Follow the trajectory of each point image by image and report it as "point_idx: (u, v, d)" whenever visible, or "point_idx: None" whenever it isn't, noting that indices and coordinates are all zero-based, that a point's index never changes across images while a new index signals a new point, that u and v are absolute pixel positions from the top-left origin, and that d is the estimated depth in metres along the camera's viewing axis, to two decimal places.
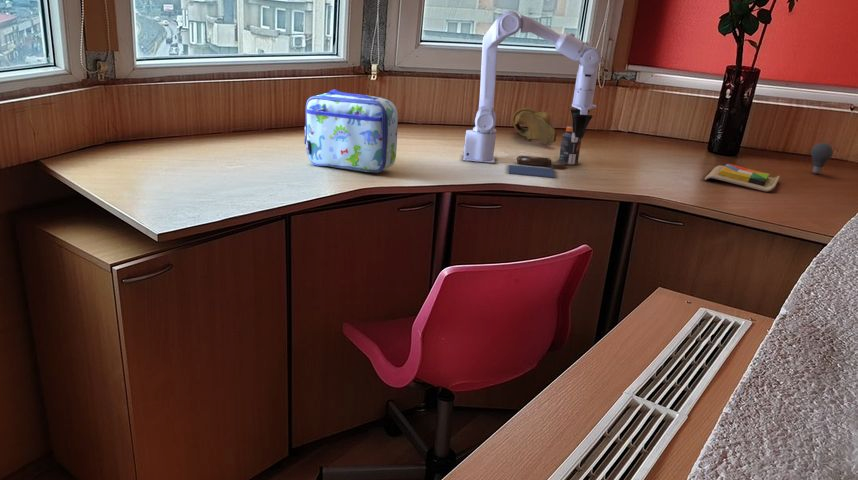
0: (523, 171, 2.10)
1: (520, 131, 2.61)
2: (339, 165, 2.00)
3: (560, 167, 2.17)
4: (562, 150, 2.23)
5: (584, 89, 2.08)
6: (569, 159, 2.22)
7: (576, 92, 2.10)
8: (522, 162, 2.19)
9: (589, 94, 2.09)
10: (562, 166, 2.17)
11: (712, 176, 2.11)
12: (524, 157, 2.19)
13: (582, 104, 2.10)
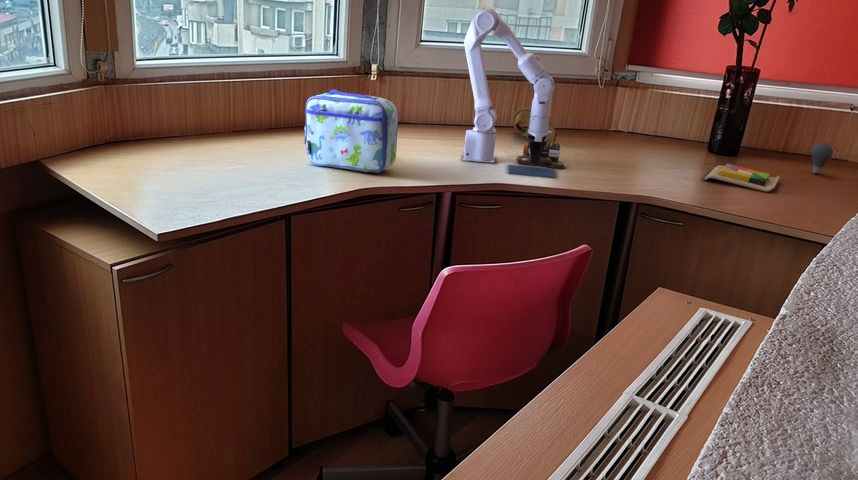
0: (523, 171, 2.10)
1: (520, 131, 2.61)
2: (339, 165, 2.00)
3: (560, 167, 2.17)
4: None
5: (538, 116, 2.12)
6: (554, 156, 2.22)
7: (531, 119, 2.14)
8: (522, 162, 2.19)
9: (544, 121, 2.12)
10: (562, 166, 2.17)
11: (712, 176, 2.11)
12: (524, 157, 2.19)
13: (537, 131, 2.13)
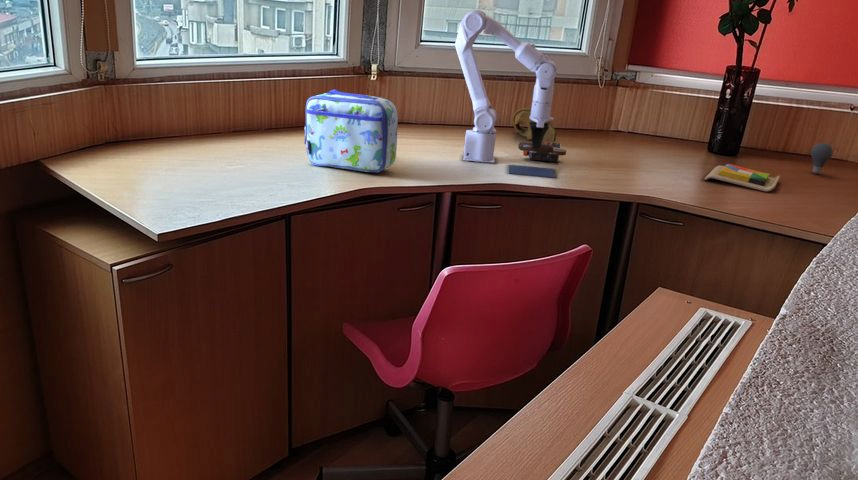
0: (523, 171, 2.10)
1: (520, 131, 2.61)
2: (339, 165, 2.00)
3: (562, 154, 2.16)
4: (545, 159, 2.25)
5: (540, 102, 2.10)
6: None
7: (533, 105, 2.12)
8: (524, 149, 2.18)
9: (546, 107, 2.11)
10: (564, 153, 2.16)
11: (712, 176, 2.11)
12: (526, 143, 2.17)
13: (539, 117, 2.12)
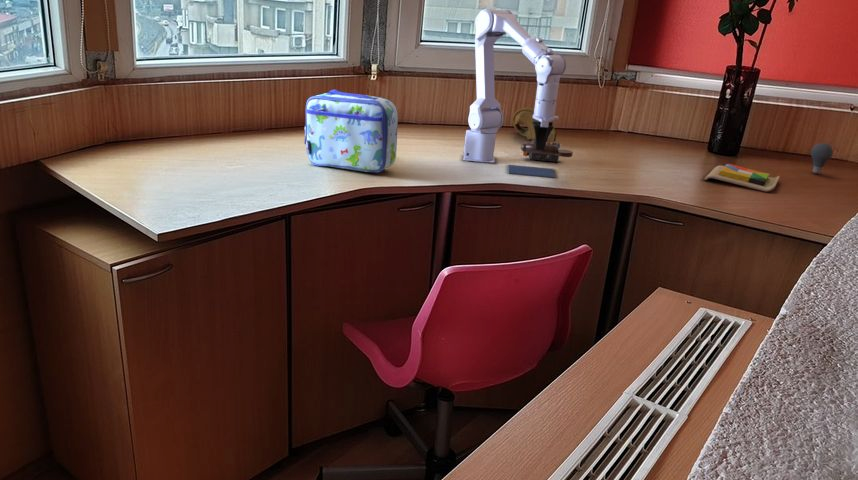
0: (523, 171, 2.10)
1: (520, 131, 2.61)
2: (339, 165, 2.00)
3: (568, 155, 2.00)
4: (545, 159, 2.25)
5: (538, 99, 1.96)
6: None
7: (537, 103, 1.97)
8: (527, 150, 2.02)
9: (550, 105, 1.96)
10: (570, 154, 2.01)
11: (712, 176, 2.11)
12: (529, 144, 2.02)
13: (543, 116, 1.97)
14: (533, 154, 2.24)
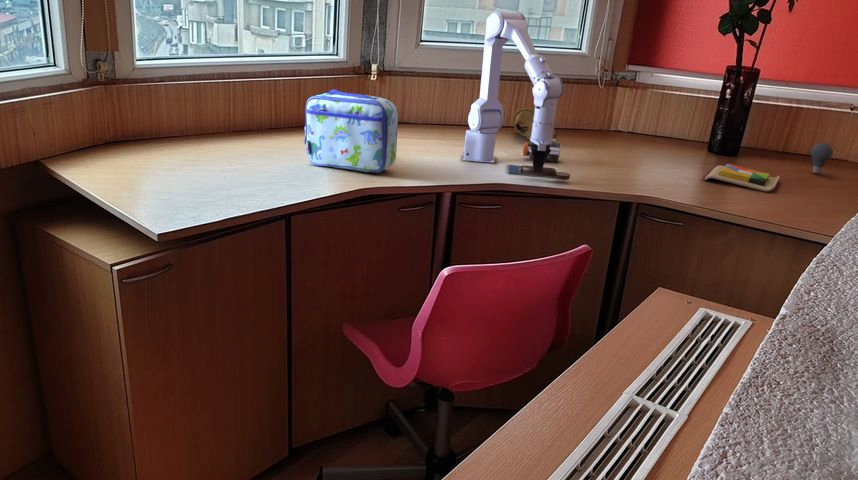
0: None
1: (520, 131, 2.61)
2: (339, 165, 2.00)
3: (565, 178, 2.00)
4: None
5: (535, 122, 1.96)
6: (554, 153, 2.22)
7: (534, 126, 1.97)
8: (524, 172, 2.02)
9: (548, 128, 1.95)
10: (568, 177, 2.00)
11: (712, 176, 2.11)
12: (526, 167, 2.02)
13: (540, 139, 1.96)
14: None
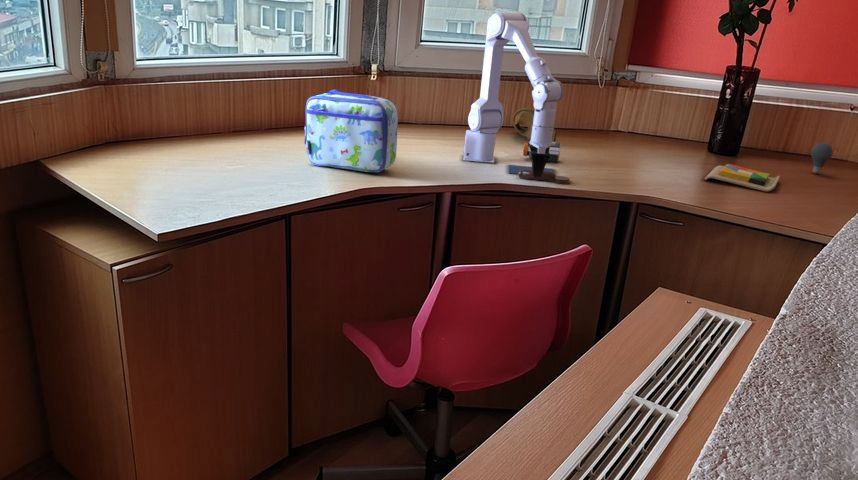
0: None
1: (520, 131, 2.61)
2: (339, 165, 2.00)
3: (565, 182, 2.00)
4: None
5: (534, 125, 1.97)
6: (554, 153, 2.22)
7: (534, 129, 1.97)
8: (524, 176, 2.03)
9: (547, 131, 1.96)
10: (567, 181, 2.01)
11: (712, 176, 2.11)
12: (526, 171, 2.02)
13: (540, 142, 1.97)
14: None
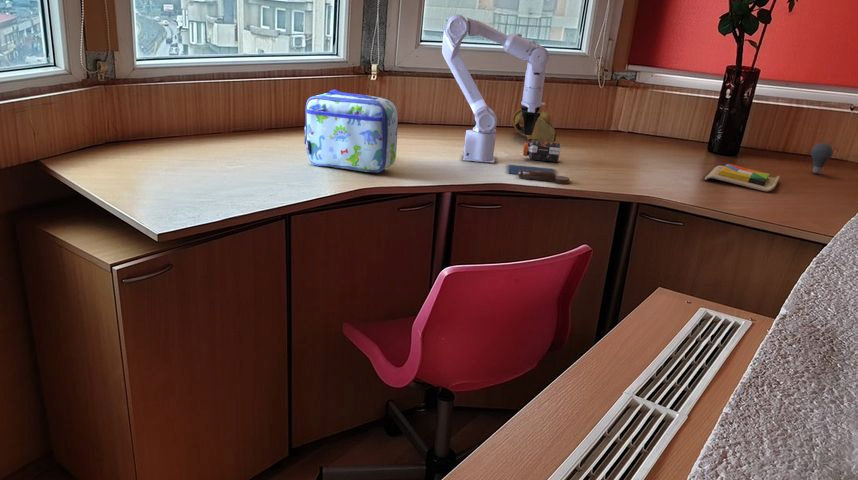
0: None
1: (520, 131, 2.61)
2: (339, 165, 2.00)
3: (565, 182, 2.00)
4: (545, 159, 2.25)
5: (533, 87, 2.11)
6: (554, 153, 2.22)
7: (525, 90, 2.13)
8: (524, 176, 2.03)
9: (537, 92, 2.12)
10: (567, 181, 2.01)
11: (712, 176, 2.11)
12: (526, 171, 2.02)
13: (530, 102, 2.13)
14: (533, 154, 2.24)
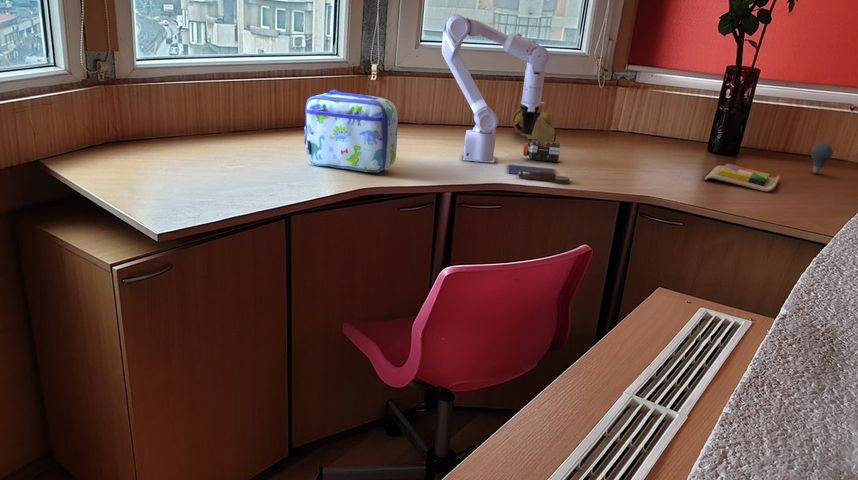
0: None
1: (520, 131, 2.61)
2: (339, 165, 2.00)
3: (565, 182, 2.00)
4: (545, 159, 2.25)
5: (533, 87, 2.12)
6: (554, 153, 2.22)
7: (524, 89, 2.14)
8: (524, 176, 2.03)
9: (537, 91, 2.13)
10: (567, 181, 2.01)
11: (712, 176, 2.11)
12: (526, 171, 2.02)
13: (530, 101, 2.14)
14: (533, 154, 2.24)
